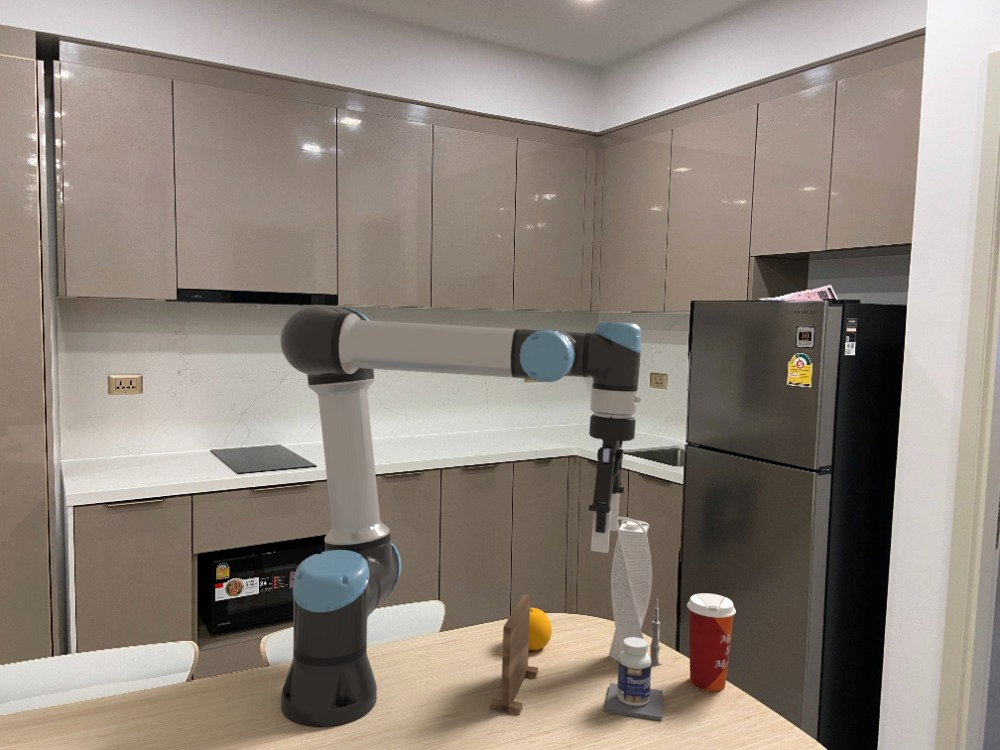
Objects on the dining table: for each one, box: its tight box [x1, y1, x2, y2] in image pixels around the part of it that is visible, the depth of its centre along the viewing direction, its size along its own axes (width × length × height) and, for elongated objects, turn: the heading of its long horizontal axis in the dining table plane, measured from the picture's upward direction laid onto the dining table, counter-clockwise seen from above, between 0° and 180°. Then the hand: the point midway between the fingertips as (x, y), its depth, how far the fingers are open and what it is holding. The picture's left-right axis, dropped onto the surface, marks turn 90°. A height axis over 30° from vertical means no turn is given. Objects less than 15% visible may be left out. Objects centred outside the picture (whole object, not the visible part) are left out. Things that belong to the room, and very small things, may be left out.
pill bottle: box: [617, 637, 652, 706], centre depth 122 cm, size 5×5×10 cm
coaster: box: [604, 682, 664, 722], centre depth 122 cm, size 9×9×1 cm
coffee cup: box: [686, 592, 736, 692], centre depth 129 cm, size 8×8×15 cm
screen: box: [488, 594, 539, 716], centre depth 124 cm, size 5×15×14 cm, turn 166°
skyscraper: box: [608, 516, 662, 668], centre depth 137 cm, size 8×8×28 cm
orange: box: [528, 607, 553, 651], centre depth 142 cm, size 8×8×8 cm
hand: (604, 540), depth 123 cm, fingers open, 13 cm apart
